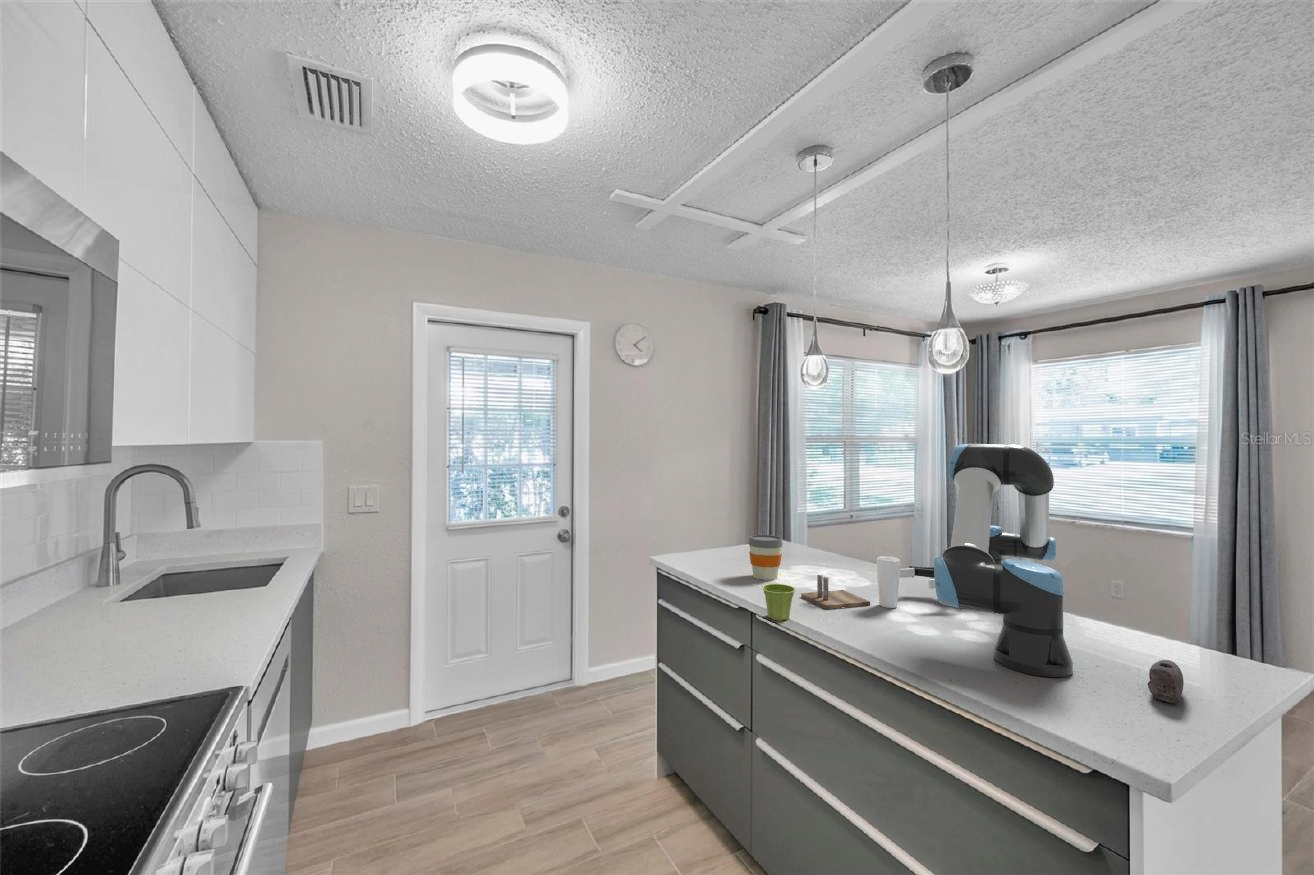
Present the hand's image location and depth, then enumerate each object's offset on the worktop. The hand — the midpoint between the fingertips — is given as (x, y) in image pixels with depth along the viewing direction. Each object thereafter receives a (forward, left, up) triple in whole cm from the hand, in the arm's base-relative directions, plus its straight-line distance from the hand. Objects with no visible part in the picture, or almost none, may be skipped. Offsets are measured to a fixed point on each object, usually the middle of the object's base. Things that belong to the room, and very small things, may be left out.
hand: (912, 578), depth 175 cm
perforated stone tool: (-29, -59, -8) cm, 67 cm away
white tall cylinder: (-8, +5, -8) cm, 13 cm away
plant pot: (-42, +24, -8) cm, 49 cm away
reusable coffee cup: (-4, +52, -8) cm, 53 cm away
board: (-15, +19, -8) cm, 26 cm away
